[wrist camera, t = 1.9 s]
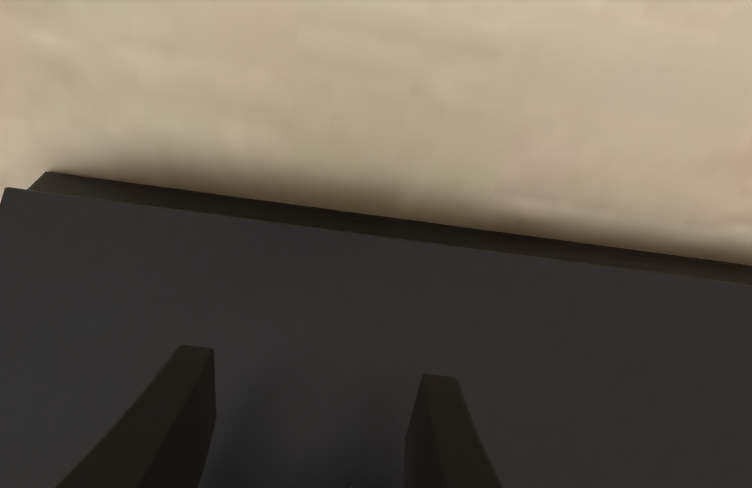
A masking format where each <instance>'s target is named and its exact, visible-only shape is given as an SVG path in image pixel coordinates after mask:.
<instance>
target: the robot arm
mask: <svg viewBox="0 0 752 488" xmlns="http://www.w3.org/2000/svg"><path fill="white" fill-rule="evenodd" d="M216 418H217V416H216V391H215V366H214V348H206V347H198V346H189V345H179V346H178V347H176V348H175V349H174V350H173V351H172V353H171V354H170V355H169V357H168V358H167V359H166V361H165V362H164V363H163V365H162V366H161V367H160V368H159V370H158V371H157V372H156V374H155V375H154V376H153V377H152V379H151V380H150V381H149V382H148V384H147V385H146V386H145V387H144V388H143V390H142V391H141V392H140V393H139V394H138V396H137V397H136V398H135V399H134V400H133V402H132V403H131V404H130V405H129V406H128V407H127V409H126V410H125V411H124V412H123V413H122V414H121V415H120V416H119V417H118V419H117V420H116V421H115V422H114V423H113V424H112V425H111V426H110V428H109V429H108V430H107V431H106V432H105V433H104V434H103V435H102V437H101V438H100V439H99V440H98V441H97V442H96V443H95V444H94V445H93V446H92V447H91V448H90V449H89V451H88V452H87V453H86V454H85V455H84V456H83V457H82V458H81V459H80V460H79V461H78V462H77V463H76V464H75V465H74V466H73V467H72V468H71V469H70V470H69V471H68V472H67V473H66V474H65V475H64V476H63V477H62V478H61V479H60V480H59V481H58V482H57V483H56V484H55V485H54V486H53V487H52V488H197V487H198V485H199V482H200V479H201V476H202V473H203V470H204V466H205V462H206V459H207V455H208V451H209V447H210V443H211V439H212V435H213V431H214V426H215V422H216ZM403 488H503V486H502V484H501V482H500V480H499V478H498V476H497V474H496V472H495V470H494V468H493V465H492V463H491V461H490V459H489V457H488V455H487V452H486V450H485V448H484V446H483V443H482V441H481V438H480V436H479V434H478V431H477V429H476V427H475V424H474V422H473V419H472V417H471V414H470V412H469V409H468V406H467V404H466V401H465V398H464V395H463V393H462V390H461V387H460V384H459V381H458V380H457V379H456V378H455V377H450V376H442V375H433V374H425V373H423V374H422V378H421V382H420V385H419V389H418V393H417V396H416V400H415V404H414V407H413V411H412V414H411V418H410V422H409V425H408V429H407V433H406V436H405V444H404V470H403Z"/></svg>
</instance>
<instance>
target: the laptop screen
mask: <svg viewBox="0 0 752 488" xmlns="http://www.w3.org/2000/svg"><path fill="white" fill-rule="evenodd" d="M179 345H189V346H198V347H206V348H214V366H215V391H216V416H217V418H216V422H215V426H214V431H213V435H212V439H211V443H210V447H209V451H208V455H207V459H206V462H205V466H204V470H203V473H202V476H201V479H200V482H199V485H198V487H197V488H403V470H404V444H405V436H406V433H407V429H408V425H409V422H410V418H411V414H412V411H413V407H414V404H415V400H416V396H417V393H418V389H419V385H420V382H421V378H422V374H423V373H425V374H433V375H442V376H450V377H455V378H456V379H457V380H458V381H459V384H460V387H461V390H462V393H463V395H464V398H465V401H466V404H467V406H468V409H469V412H470V414H471V417H472V419H473V422H474V424H475V427H476V429H477V431H478V434H479V436H480V438H481V441H482V443H483V446H484V448H485V450H486V452H487V455H488V457H489V459H490V461H491V463H492V465H493V468H494V470H495V472H496V474H497V476H498V478H499V480H500V482H501V484H502V486H503V488H752V285H747V284H739V283H732V282H724V281H717V280H709V279H701V278H694V277H686V276H679V275H671V274H663V273H656V272H648V271H641V270H633V269H625V268H618V267H610V266H603V265H595V264H587V263H580V262H572V261H565V260H557V259H549V258H542V257H534V256H527V255H519V254H511V253H504V252H496V251H489V250H481V249H473V248H466V247H458V246H451V245H443V244H435V243H428V242H420V241H413V240H405V239H397V238H390V237H382V236H375V235H367V234H359V233H352V232H344V231H337V230H329V229H321V228H314V227H306V226H298V225H291V224H283V223H276V222H268V221H260V220H253V219H245V218H238V217H230V216H222V215H215V214H207V213H200V212H192V211H184V210H177V209H169V208H162V207H154V206H146V205H139V204H131V203H124V202H116V201H108V200H101V199H93V198H86V197H78V196H70V195H63V194H55V193H48V192H40V191H32V190H25V189H17V188H10V187H8V188H5V190H4V193H3V197H2V200H1V203H0V488H52V487H53V486H54V485H55V484H56V483H57V482H58V481H59V480H60V479H61V478H62V477H63V476H64V475H65V474H66V473H67V472H68V471H69V470H70V469H71V468H72V467H73V466H74V465H75V464H76V463H77V462H78V461H79V460H80V459H81V458H82V457H83V456H84V455H85V454H86V453H87V452H88V451H89V449H90V448H91V447H92V446H93V445H94V444H95V443H96V442H97V441H98V440H99V439H100V438H101V437H102V435H103V434H104V433H105V432H106V431H107V430H108V429H109V428H110V426H111V425H112V424H113V423H114V422H115V421H116V420H117V419H118V417H119V416H120V415H121V414H122V413H123V412H124V411H125V410H126V409H127V407H128V406H129V405H130V404H131V403H132V402H133V400H134V399H135V398H136V397H137V396H138V394H139V393H140V392H141V391H142V390H143V388H144V387H145V386H146V385H147V384H148V382H149V381H150V380H151V379H152V377H153V376H154V375H155V374H156V372H157V371H158V370H159V368H160V367H161V366H162V365H163V363H164V362H165V361H166V359H167V358H168V357H169V355H170V354H171V353H172V351H173V350H174V349H175V348H176V347H178V346H179Z"/></svg>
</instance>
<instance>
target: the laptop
mask: <svg viewBox="0 0 752 488" xmlns="http://www.w3.org/2000/svg"><path fill="white" fill-rule="evenodd" d="M27 190H32V191H40V192H48V193H55V194H63V195H70V196H78V197H86V198H93V199H101V200H108V201H116V202H124V203H131V204H139V205H146V206H154V207H162V208H169V209H177V210H184V211H192V212H200V213H207V214H215V215H222V216H230V217H238V218H245V219H253V220H260V221H268V222H276V223H283V224H291V225H298V226H306V227H314V228H321V229H329V230H337V231H344V232H352V233H359V234H367V235H375V236H382V237H390V238H397V239H405V240H413V241H420V242H428V243H435V244H443V245H451V246H458V247H466V248H473V249H481V250H489V251H496V252H504V253H511V254H519V255H527V256H534V257H542V258H549V259H557V260H565V261H572V262H580V263H587V264H595V265H603V266H610V267H618V268H625V269H633V270H641V271H648V272H656V273H663V274H671V275H679V276H686V277H694V278H701V279H709V280H717V281H724V282H732V283H739V284H747V285H752V266H749V265H742V264H734V263H727V262H719V261H712V260H704V259H697V258H689V257H682V256H674V255H667V254H659V253H652V252H644V251H637V250H629V249H622V248H614V247H607V246H599V245H592V244H584V243H577V242H569V241H562V240H554V239H547V238H539V237H532V236H524V235H517V234H509V233H502V232H494V231H487V230H479V229H472V228H464V227H457V226H449V225H442V224H434V223H427V222H419V221H412V220H404V219H397V218H389V217H382V216H374V215H367V214H359V213H352V212H344V211H337V210H329V209H322V208H314V207H307V206H299V205H292V204H284V203H277V202H269V201H262V200H254V199H247V198H239V197H232V196H224V195H217V194H209V193H202V192H195V191H187V190H180V189H172V188H165V187H157V186H150V185H142V184H135V183H127V182H120V181H112V180H105V179H97V178H90V177H82V176H75V175H67V174H60V173H52V172H45V173H44V174H43V175H42V176H41V177H40V178H39V179H38V180H37V181H36V182H35V183H34V184H32V185H31V186H30V187H29V188H28V189H27Z"/></svg>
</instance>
